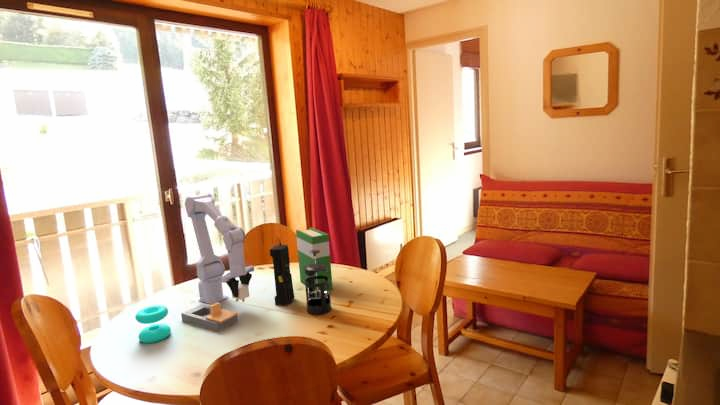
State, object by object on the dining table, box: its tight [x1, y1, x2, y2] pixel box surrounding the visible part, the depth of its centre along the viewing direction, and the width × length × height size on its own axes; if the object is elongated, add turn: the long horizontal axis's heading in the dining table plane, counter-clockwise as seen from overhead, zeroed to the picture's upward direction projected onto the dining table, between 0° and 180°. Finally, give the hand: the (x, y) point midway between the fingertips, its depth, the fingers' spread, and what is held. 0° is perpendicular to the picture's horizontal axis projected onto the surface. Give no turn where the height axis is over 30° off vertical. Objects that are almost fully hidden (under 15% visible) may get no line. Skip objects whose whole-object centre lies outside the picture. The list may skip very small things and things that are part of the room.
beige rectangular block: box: [231, 282, 250, 303], centre depth 163 cm, size 5×4×6 cm
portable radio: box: [269, 238, 296, 306], centre depth 168 cm, size 8×6×25 cm
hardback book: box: [295, 227, 333, 291], centre depth 184 cm, size 18×7×24 cm, turn 30°
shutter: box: [206, 301, 239, 323], centre depth 152 cm, size 8×8×4 cm
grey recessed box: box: [180, 303, 239, 332], centre depth 156 cm, size 20×9×3 cm, turn 58°
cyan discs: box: [135, 304, 172, 344], centre depth 146 cm, size 10×10×10 cm
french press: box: [304, 250, 333, 316], centre depth 159 cm, size 12×9×23 cm
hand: (240, 294), depth 163 cm, fingers closed on beige rectangular block, 4 cm apart
